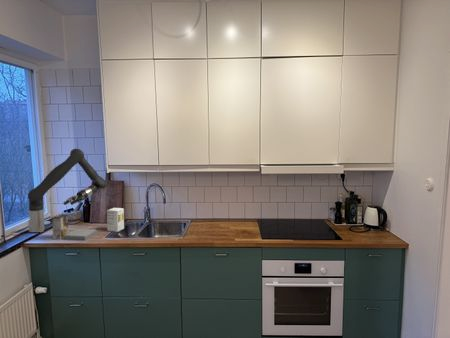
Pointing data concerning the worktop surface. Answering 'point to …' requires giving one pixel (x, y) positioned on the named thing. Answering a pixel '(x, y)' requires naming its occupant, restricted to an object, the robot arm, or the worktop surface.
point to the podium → (80, 234)
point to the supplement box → (115, 219)
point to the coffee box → (60, 226)
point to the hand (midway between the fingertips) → (67, 203)
